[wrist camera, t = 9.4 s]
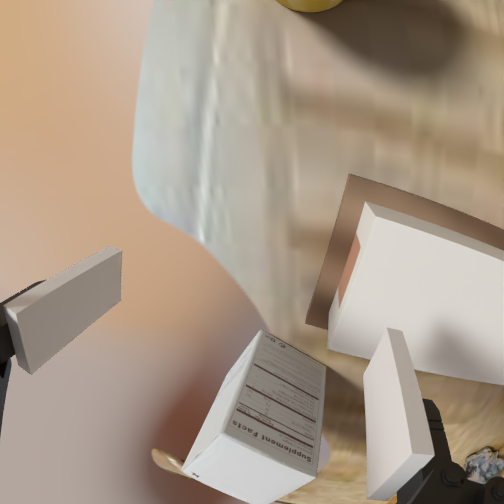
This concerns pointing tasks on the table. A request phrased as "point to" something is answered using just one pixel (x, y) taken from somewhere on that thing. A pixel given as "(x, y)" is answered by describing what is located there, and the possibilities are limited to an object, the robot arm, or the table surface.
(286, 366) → the supplement box
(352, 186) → the board
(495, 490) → the robot arm
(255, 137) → the table surface
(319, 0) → the plant pot
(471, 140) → the table surface
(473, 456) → the mineral specimen
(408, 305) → the panel
